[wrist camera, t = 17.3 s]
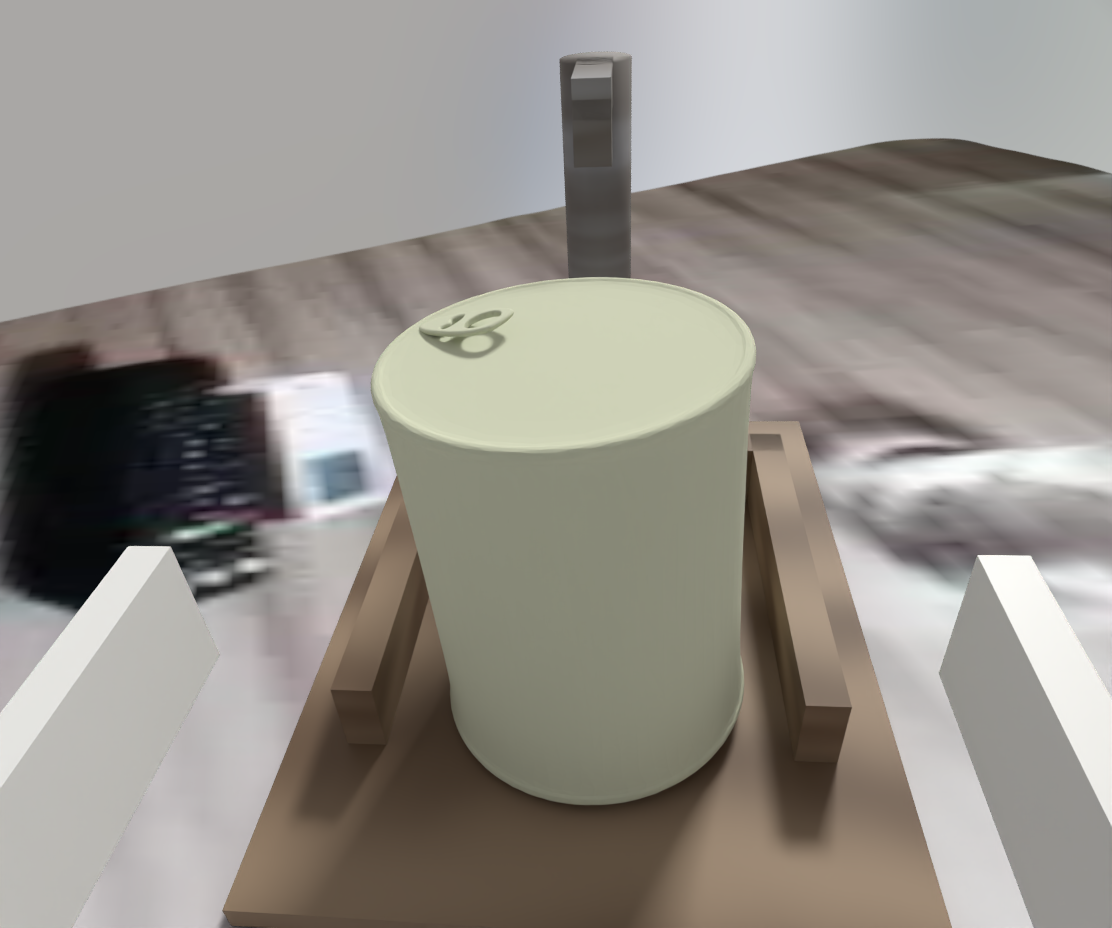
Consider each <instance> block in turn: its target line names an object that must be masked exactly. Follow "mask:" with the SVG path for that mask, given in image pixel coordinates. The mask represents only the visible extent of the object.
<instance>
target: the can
mask: <svg viewBox="0 0 1112 928" xmlns="http://www.w3.org/2000/svg"><path fill="white" fill-rule="evenodd" d="M755 362H756V347H755V342H754V338H753V336H752V334H751V332H750V329H749V328H748V326H747V325H746V324H745V322H744V321H743V320H742V319H741V318H740V317H739V316H738V315H737V314H736V313H735V312H734V311H732V310H731V309H729V308H728V307H726V306H725V305H723V304H722V303H720V302H718V301H716V300H714V299H712V298H710V297H708V296H706V295H704V294H701V293H699V292H695V291H692V290H689V289H686V288H683V287H679V286H674V285H670V284H665V283H660V282H655V281H647V280H640V279H629V278H611V277H585V278H570V279H558V280H549V281H540V282H534V283H528V284H522V285H517V286H512V287H508V288H504V289H500V290H496V291H492V292H488V293H485V294H482V295H478V296H475V297H472V298H469V299H466V300H463V301H461V302H458V303H455V304H453V305H451V306H448V307H446V308H444V309H441V310H439V311H437V312H435V313H433V314H431V315H429V316H427V317H426V318H424V319H422V320H421V321H419V322H417V323H416V324H414V325H413V326H411V327H410V328H408V329H407V330H406V331H404V332H403V333H402V334H400V335H399V336H398V337H397V338H396V339H395V340H394V341H393V342H392V343H391V344H390V345H388V347H387V348H386V349H385V351H384V352H383V353H382V354H381V356H380V357H379V359H378V361H377V363H376V365H375V367H374V370H373V374H372V378H371V394H372V398H373V402H374V405H375V407H376V409H377V411H378V413H379V416H380V419H381V422H382V425H383V428H384V431H385V434H386V437H387V441H388V444H389V448H390V452H391V455H392V459H393V462H394V466H395V470H396V473H397V477H398V480H399V484H400V488H401V491H402V495H403V499H404V502H405V506H406V510H407V514H408V517H409V521H410V525H411V529H412V532H413V536H414V540H415V544H416V548H417V551H418V555H419V559H420V563H421V567H422V570H423V574H424V578H425V582H426V586H427V590H428V594H429V598H430V602H431V606H432V610H433V614H434V618H435V622H436V626H437V630H438V634H439V638H440V642H441V646H442V650H443V654H444V658H445V662H446V667H447V671H448V676H449V681H450V699H451V709H452V713H453V717H454V721H455V723H456V726H457V729H458V731H459V733H460V735H461V737H462V739H463V741H464V742H465V744H466V746H467V747H468V749H469V750H470V751H471V753H472V754H473V755H474V756H475V757H476V758H477V759H478V761H479V762H480V763H481V764H482V765H483V766H484V767H485V768H486V769H487V770H489V771H490V772H491V773H492V774H494V775H495V776H496V777H498V778H499V779H501V780H502V781H504V782H506V783H507V784H509V785H511V786H512V787H514V788H516V789H519V790H521V791H523V792H525V793H528V794H530V795H533V796H536V797H539V798H543V799H546V800H549V801H554V802H560V803H566V804H574V805H609V804H617V803H624V802H629V801H633V800H637V799H641V798H644V797H647V796H650V795H653V794H656V793H658V792H660V791H663V790H665V789H667V788H669V787H671V786H673V785H676V784H677V783H679V782H681V781H683V780H684V779H686V778H687V777H689V776H690V775H692V774H693V773H695V772H696V771H697V770H699V769H700V768H701V767H702V766H703V765H705V764H706V763H707V762H708V761H709V760H710V759H711V758H712V757H713V756H714V755H715V753H716V752H717V751H718V750H719V749H720V747H721V746H722V745H723V744H724V742H725V741H726V739H727V737H728V736H729V734H730V732H731V731H732V729H733V727H734V725H735V723H736V720H737V718H738V715H739V712H740V709H741V705H742V701H743V694H744V670H743V664H742V659H741V656H740V624H741V588H742V557H743V535H744V513H745V491H746V470H747V448H748V426H749V412H750V398H751V384H752V375H753V371H754V367H755Z"/></svg>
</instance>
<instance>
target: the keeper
mask: <svg viewBox="0 0 1112 928" xmlns="http://www.w3.org/2000/svg"><path fill="white" fill-rule="evenodd" d="M631 59H632V56H631V55H630V54H627V53H621V52H586V53H578V54H572V55H568V56H564V57H562V58H561V59H560V82H561V105H562V129H563V153H564V176H565V200H566V224H567V247H568V271H569V279H570V278H585V277H611V278H629V279H630V275H631V64H632V62H631V61H632V60H631ZM740 656H741V659H742V664H743V670H744V694H743V701H742V705H741V709H740V712H739V715H738V718H737V720H736V723H735V725H734V727H733V729H732V731H731V732H730V734H729V736H728V737H727V739H726V741H725V742H724V744H723V745H722V746H721V747H720V749H719V750H718V751H717V752H716V753H715V755H714V756H713V757H712V758H711V759H710V760H709V761H708V762H707V763H706V764H705V765H703V766H702V767H701V768H700V769H699V770H697V771H696V772H695V773H693V774H692V775H690V776H689V777H687V778H686V779H684V780H683V781H681V782H679V783H677V784H676V785H673V786H671V787H669V788H667V789H665V790H663V791H660V792H658V793H656V794H653V795H650V796H647V797H644V798H641V799H637V800H633V801H629V802H624V803H617V804H609V805H574V804H566V803H560V802H554V801H549V800H546V799H543V798H539V797H536V796H533V795H530V794H528V793H525V792H523V791H521V790H519V789H516V788H514V787H512V786H511V785H509V784H507V783H506V782H504V781H502V780H501V779H499V778H498V777H496V776H495V775H494V774H492V773H491V772H490V771H489V770H487V769H486V768H485V767H484V766H483V765H482V764H481V763H480V762H479V761H478V759H477V758H476V757H475V756H474V755H473V754H472V753H471V751H470V750H469V749H468V747H467V746H466V744H465V742H464V741H463V739H462V737H461V735H460V733H459V731H458V729H457V726H456V723H455V721H454V717H453V713H452V709H451V699H450V681H449V676H448V671H447V667H446V662H445V658H444V654H443V650H442V646H441V642H440V638H439V634H438V630H437V626H436V622H435V618H434V614H433V610H432V606H431V602H430V598H429V594H428V590H427V586H426V582H425V578H424V574H423V570H422V567H421V563H420V559H419V555H418V551H417V548H416V544H415V540H414V536H413V532H412V529H411V525H410V521H409V517H408V514H407V510H406V506H405V502H404V499H403V495H402V491H401V488H400V484H399V480H398V477H397V476H396V479H395V481H394V484H393V486H392V489H391V491H390V494H389V496H388V499H387V501H386V504H385V506H384V509H383V511H382V514H381V516H380V519H379V521H378V524H377V526H376V529H375V531H374V534H373V536H372V539H371V541H370V544H369V546H368V549H367V551H366V554H365V556H364V559H363V561H362V564H361V566H360V569H359V571H358V574H357V576H356V579H355V581H354V584H353V586H352V589H351V591H350V594H349V596H348V599H347V601H346V604H345V606H344V609H343V611H342V614H341V616H340V619H339V621H338V624H337V626H336V629H335V631H334V634H333V636H332V639H331V641H330V643H329V646H328V648H327V651H326V653H325V656H324V658H323V661H322V663H321V666H320V668H319V671H318V673H317V676H316V678H315V681H314V683H313V686H312V688H311V691H310V693H309V696H308V698H307V701H306V703H305V706H304V708H303V711H302V713H301V716H300V718H299V721H298V723H297V726H296V728H295V731H294V733H293V736H292V738H291V741H290V743H289V746H288V748H287V751H286V753H285V756H284V758H283V761H282V763H281V766H280V768H279V771H278V773H277V776H276V778H275V781H274V783H273V786H272V788H271V791H270V793H269V796H268V798H267V801H266V803H265V806H264V808H263V811H262V813H261V816H260V818H259V820H258V823H257V825H256V828H255V830H254V833H253V835H252V838H251V840H250V843H249V845H248V848H247V850H246V853H245V855H244V858H243V860H242V863H241V865H240V868H239V870H238V873H237V875H236V878H235V880H234V883H233V885H232V888H231V890H230V893H229V895H228V898H227V900H226V903H225V905H224V908H223V910H222V911H223V912H224V914H225V916H226V917H227V919H228V921H229V923H230V924H231V926H246V927H262V928H952V926H951V923H950V920H949V916H948V913H947V910H946V906H945V903H944V900H943V896H942V893H941V890H940V887H939V883H938V880H937V877H936V873H935V870H934V867H933V863H932V860H931V857H930V854H929V850H928V847H927V844H926V840H925V837H924V834H923V830H922V827H921V824H920V821H919V817H918V814H917V811H916V807H915V804H914V801H913V797H912V794H911V791H910V787H909V784H908V781H907V778H906V774H905V771H904V768H903V764H902V761H901V758H900V754H899V751H898V748H897V745H896V741H895V738H894V735H893V731H892V728H891V725H890V721H889V718H888V715H887V712H886V708H885V705H884V702H883V698H882V695H881V692H880V688H879V685H878V682H877V678H876V675H875V672H874V669H873V665H872V662H871V659H870V655H869V652H868V649H867V645H866V642H865V639H864V636H863V632H862V629H861V626H860V622H859V619H858V616H857V612H856V609H855V606H854V603H853V599H852V596H851V593H850V589H849V586H848V583H847V579H846V576H845V573H844V569H843V566H842V563H841V560H840V556H839V553H838V550H837V546H836V543H835V540H834V536H833V533H832V530H831V527H830V523H829V520H828V517H827V513H826V510H825V507H824V503H823V500H822V497H821V494H820V490H819V487H818V484H817V480H816V477H815V474H814V470H813V467H812V464H811V460H810V457H809V454H808V451H807V447H806V444H805V441H804V437H803V434H802V431H801V427H800V424H799V421H749V426H748V448H747V470H746V491H745V513H744V535H743V557H742V588H741V624H740Z"/></svg>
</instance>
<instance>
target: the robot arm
mask: <svg viewBox="0 0 1112 928" xmlns="http://www.w3.org/2000/svg"><path fill="white" fill-rule="evenodd" d="M219 656H220V654H219V652H218V649H217V647H216V645H215V643H214V641H213V638H212V636H211V634H210V632H209V630H208V628H207V625H206V623H205V621H204V619H203V617H202V614H201V612H200V610H199V608H198V606H197V604H196V601H195V599H194V597H193V595H192V593H191V590H190V588H189V586H188V584H187V582H186V579H185V577H184V575H183V573H182V571H181V569H180V566H179V564H178V562H177V560H176V558H175V555H174V553H173V551H172V549H171V547H160V546H128V547H127V549H126V550H125V551H124V553H123V554H122V555H121V556H120V558H119V559H118V560H117V562H116V563H115V564H114V566H113V567H112V568H111V570H110V571H109V572H108V573H107V575H106V576H105V577H104V579H103V580H102V581H101V583H100V584H99V585H98V586H97V588H96V589H95V590H94V592H93V593H92V594H91V596H90V597H89V598H88V600H87V601H86V602H85V603H84V605H83V606H82V607H81V609H80V610H79V611H78V613H77V614H76V615H75V616H74V618H73V619H72V620H71V622H70V623H69V624H68V626H67V627H66V628H65V630H64V631H63V632H62V633H61V635H60V636H59V637H58V639H57V640H56V641H55V643H54V644H53V645H52V646H51V648H50V649H49V650H48V652H47V653H46V654H45V656H44V657H43V658H42V660H41V661H40V662H39V663H38V665H37V666H36V667H35V669H34V670H33V671H32V673H31V674H30V675H29V676H28V678H27V679H26V680H25V682H24V683H23V684H22V686H21V687H20V688H19V690H18V691H17V692H16V693H15V695H14V696H13V697H12V699H11V700H10V701H9V703H8V704H7V705H6V706H5V708H4V709H3V710H2V712H1V713H0V928H72V927H73V925H74V923H75V922H76V920H77V918H78V916H79V914H80V912H81V911H82V909H83V907H84V905H85V903H86V901H87V900H88V898H89V896H90V894H91V892H92V890H93V888H94V887H95V885H96V883H97V881H98V879H99V877H100V876H101V874H102V872H103V870H104V868H105V866H106V864H107V863H108V861H109V859H110V857H111V855H112V853H113V852H114V850H115V848H116V846H117V844H118V842H119V840H120V839H121V837H122V835H123V833H124V831H125V829H126V828H127V826H128V824H129V822H130V820H131V818H132V816H133V815H134V813H135V811H136V809H137V807H138V805H139V804H140V802H141V800H142V798H143V796H144V794H145V792H146V791H147V789H148V787H149V785H150V783H151V781H152V780H153V778H154V776H155V774H156V772H157V770H158V768H159V767H160V765H161V763H162V761H163V759H164V757H165V756H166V754H167V752H168V750H169V748H170V746H171V744H172V743H173V741H174V739H175V737H176V735H177V733H178V732H179V730H180V728H181V726H182V724H183V722H184V720H185V719H186V717H187V715H188V713H189V711H190V709H191V708H192V706H193V704H194V702H195V700H196V698H197V696H198V695H199V693H200V691H201V689H202V687H203V685H204V684H205V682H206V680H207V678H208V676H209V674H210V672H211V671H212V669H213V667H214V665H215V663H216V661H217V660H218V658H219ZM939 675H940V678H941V680H942V683H943V686H944V688H945V691H946V694H947V696H948V699H949V702H950V704H951V707H952V710H953V712H954V715H955V718H956V721H957V723H958V726H959V729H960V731H961V734H962V737H963V739H964V742H965V745H966V747H967V750H968V753H969V755H970V758H971V761H972V763H973V766H974V769H975V771H976V774H977V777H978V780H979V782H980V785H981V788H982V790H983V793H984V796H985V798H986V801H987V804H988V806H989V809H990V812H991V814H992V817H993V820H994V822H995V825H996V828H997V830H998V833H999V836H1000V839H1001V841H1002V844H1003V847H1004V849H1005V852H1006V855H1007V857H1008V860H1009V863H1010V865H1011V868H1012V871H1013V873H1014V876H1015V879H1016V881H1017V884H1018V887H1019V889H1020V892H1021V895H1022V897H1023V900H1024V903H1025V906H1026V908H1027V911H1028V914H1029V916H1030V919H1031V922H1032V924H1033V927H1034V928H1112V698H1111V696H1110V694H1109V693H1108V691H1107V689H1106V687H1105V686H1104V684H1103V682H1102V680H1101V679H1100V677H1099V675H1098V673H1097V672H1096V670H1095V668H1094V666H1093V665H1092V663H1091V661H1090V659H1089V658H1088V656H1087V654H1086V652H1085V651H1084V649H1083V647H1082V645H1081V644H1080V642H1079V640H1078V638H1077V637H1076V635H1075V633H1074V631H1073V630H1072V628H1071V626H1070V624H1069V623H1068V621H1067V619H1066V617H1065V616H1064V614H1063V612H1062V610H1061V609H1060V607H1059V605H1058V603H1057V602H1056V600H1055V598H1054V596H1053V595H1052V593H1051V591H1050V589H1049V588H1048V586H1047V584H1046V582H1045V581H1044V579H1043V577H1042V575H1041V574H1040V572H1039V570H1038V568H1037V567H1036V565H1035V563H1034V561H1033V560H1032V558H1031V556H1001V555H977V558H976V561H975V564H974V567H973V571H972V574H971V577H970V580H969V583H968V586H967V589H966V592H965V595H964V598H963V601H962V604H961V607H960V610H959V613H958V616H957V620H956V623H955V626H954V629H953V632H952V635H951V638H950V641H949V644H948V647H947V650H946V653H945V656H944V659H943V662H942V666H941V669H940V672H939Z"/></svg>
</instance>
